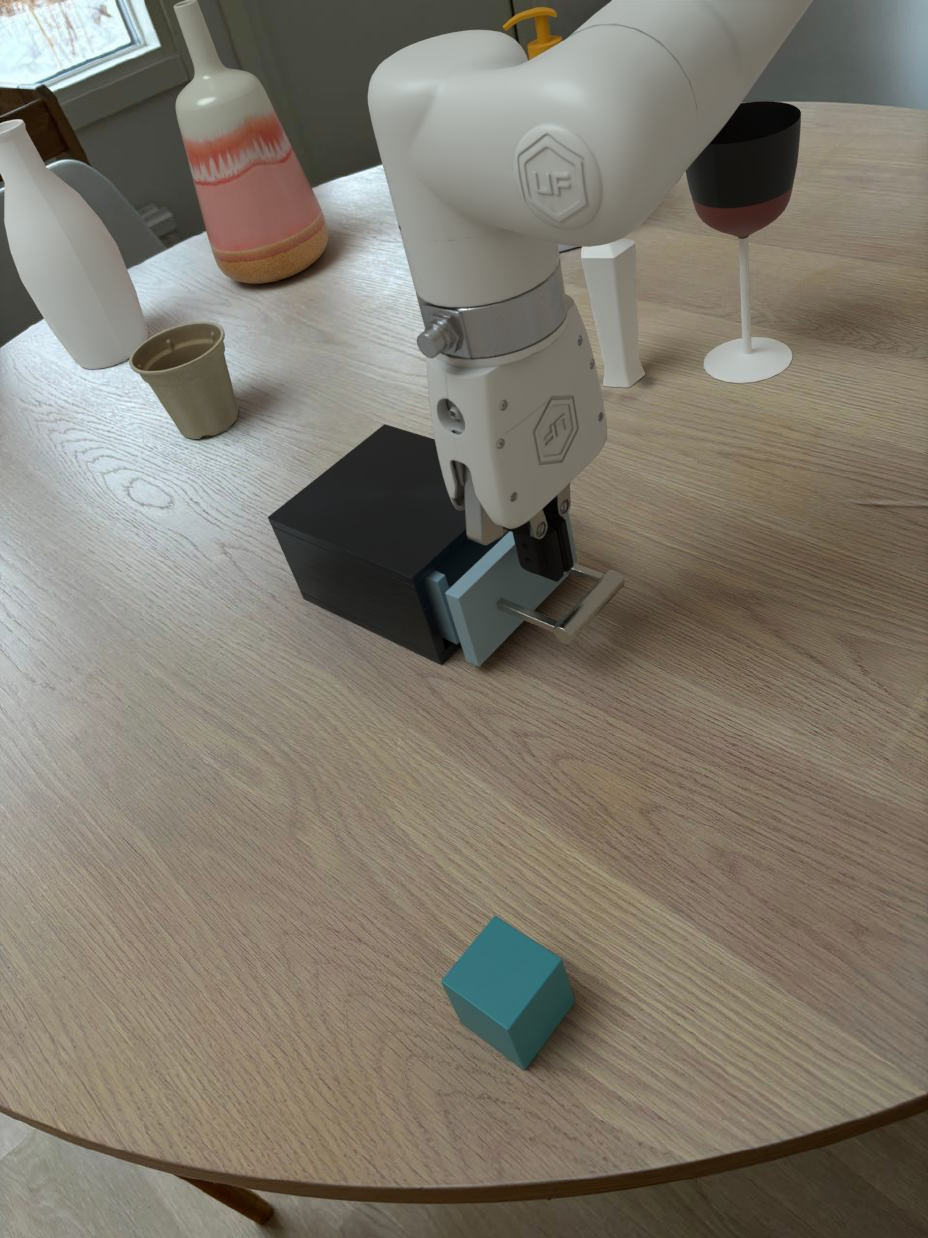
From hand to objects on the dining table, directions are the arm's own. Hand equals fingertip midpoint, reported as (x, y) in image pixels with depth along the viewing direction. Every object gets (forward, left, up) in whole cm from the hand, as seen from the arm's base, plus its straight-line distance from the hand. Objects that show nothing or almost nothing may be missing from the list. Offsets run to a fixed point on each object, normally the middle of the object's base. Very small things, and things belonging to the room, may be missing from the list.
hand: (547, 567), depth 65 cm
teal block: (-1, +27, -6) cm, 27 cm away
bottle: (+59, -49, -6) cm, 77 cm away
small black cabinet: (+11, -6, -6) cm, 14 cm away
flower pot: (+39, -31, -6) cm, 51 cm away
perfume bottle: (-2, -32, -6) cm, 33 cm away
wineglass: (-13, -33, -6) cm, 36 cm away
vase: (+43, -66, -6) cm, 80 cm away
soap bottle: (+6, -64, -6) cm, 65 cm away
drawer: (+5, -3, -5) cm, 8 cm away
